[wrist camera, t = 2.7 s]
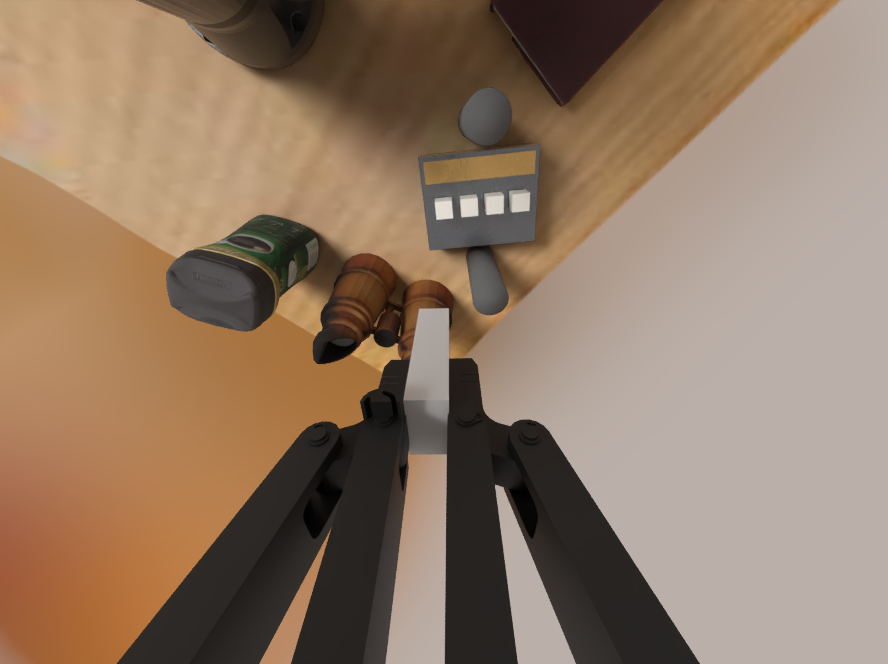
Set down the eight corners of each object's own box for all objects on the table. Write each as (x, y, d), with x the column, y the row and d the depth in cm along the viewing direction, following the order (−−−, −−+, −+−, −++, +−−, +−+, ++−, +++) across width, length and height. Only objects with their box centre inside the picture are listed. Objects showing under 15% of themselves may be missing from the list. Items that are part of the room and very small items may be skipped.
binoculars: (462, 292, 51) (469, 374, 34) (440, 331, 55) (437, 422, 38) (350, 243, 47) (295, 309, 30) (336, 290, 51) (280, 371, 34)
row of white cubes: (435, 198, 39) (434, 202, 37) (525, 189, 38) (530, 192, 36) (437, 215, 40) (436, 219, 38) (525, 206, 39) (529, 210, 37)
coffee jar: (253, 258, 48) (159, 322, 32) (253, 206, 44) (146, 250, 28) (318, 278, 49) (258, 347, 34) (324, 229, 45) (260, 282, 30)
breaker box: (420, 155, 40) (418, 158, 37) (532, 143, 39) (540, 144, 36) (430, 241, 46) (429, 250, 43) (528, 232, 45) (534, 241, 42)
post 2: (465, 244, 46) (471, 284, 35) (493, 242, 46) (508, 281, 34) (467, 270, 49) (473, 316, 37) (493, 268, 48) (508, 313, 37)
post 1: (457, 102, 37) (461, 90, 25) (491, 98, 37) (512, 84, 25) (459, 141, 39) (464, 148, 28) (491, 138, 39) (511, 143, 27)
